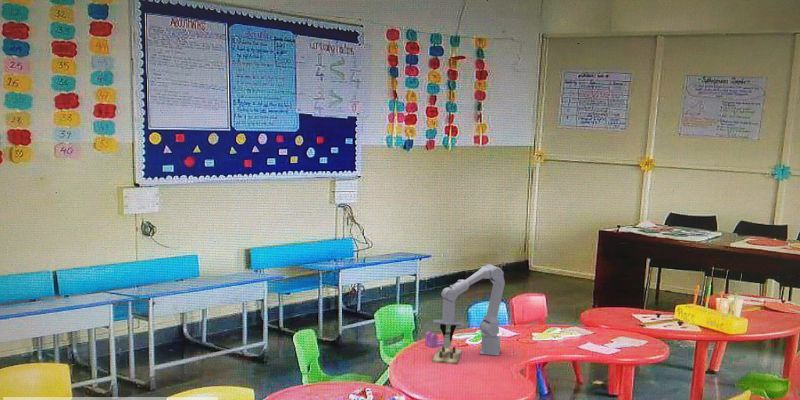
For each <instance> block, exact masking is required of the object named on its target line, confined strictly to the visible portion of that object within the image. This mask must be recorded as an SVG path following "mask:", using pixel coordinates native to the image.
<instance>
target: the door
mask: <svg viewBox="0 0 800 400" xmlns="http://www.w3.org/2000/svg"><path fill="white" fill-rule="evenodd" d="M443 340H444V348H447V349H450V346H451V345H452V341H453V340H452V341H450V330H447V329H446V333H445V335H444V337H443Z"/></svg>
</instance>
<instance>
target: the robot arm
mask: <svg viewBox="0 0 800 400" xmlns="http://www.w3.org/2000/svg"><path fill="white" fill-rule="evenodd" d="M504 273H505V272H504V270H502V268H501V267H498V266H495V265H493V264H490V263H487V264H485V265H484V266H481V268H480V269H479V270H477V271H476V272H474V273H472V275H470V276H469V277H468V278H466V279H458V280H457V281H456V282H455V283H453V284H450V285H449V287H445V288H443V289H442V291H441V293H440V295H441V297H442V319H433V321H432V322H433V324H432V325H434V326H435V325H438V326H439V329H440V330H441V332H442V337H443V338H444V335H445V333H446V331H447V326H450V329H449V331H450V341H453V336H454V333H455V330H456V329H457V327H461V328H462V327H464V321H459V320H455V315H456V313H455V311H456V310H455V308H456V305H455V304H456V303H455V302H456V300H457V298H458V296H459V295H462V294H463V293H464V292H467V290H469V288H470V286H472V285H473V284H475V283H477V282H479V281H480V280H482V279H486V280H487V279H488V280H490V282H491V283H492V289H491V293H490V297H489V303H488V306H487V310H486V311H487V312H486V315H484V316H483V318H482V320H481V321H480V324H479V329H480V331H481V345H480V347H481V348H480V351H479V354H480V355H487V356H499V355H500V352H501V335H498V334H499V332H500V327H499V324H500V323H499V319H498V315H499V311H500V306H501V302H502V298H503V294H504V289H505V284H506V281H505V277H504Z"/></svg>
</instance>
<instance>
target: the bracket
mask: <svg viewBox="0 0 800 400" xmlns="http://www.w3.org/2000/svg"><path fill="white" fill-rule="evenodd" d="M424 345H425V346H427V347H429V348H430V349H433V348H440V347H443V346H444V339H439V336H438V334H436V333H433V332H432V331H427V332H426V333H425V344H424Z"/></svg>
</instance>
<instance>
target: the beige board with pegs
mask: <svg viewBox="0 0 800 400" xmlns="http://www.w3.org/2000/svg"><path fill="white" fill-rule="evenodd" d="M462 354H463V349H460V348H459V349H457V348H456V346H453V347H452V348H449V349H448V348H444V346H441V347H437V350H436V352H435V354H434V356H433V358H432V359H431V362H432V363H438V364H439V363H440V364H451V365H458V363H459V362H460V361H459V360H460V357H461V355H462Z"/></svg>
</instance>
